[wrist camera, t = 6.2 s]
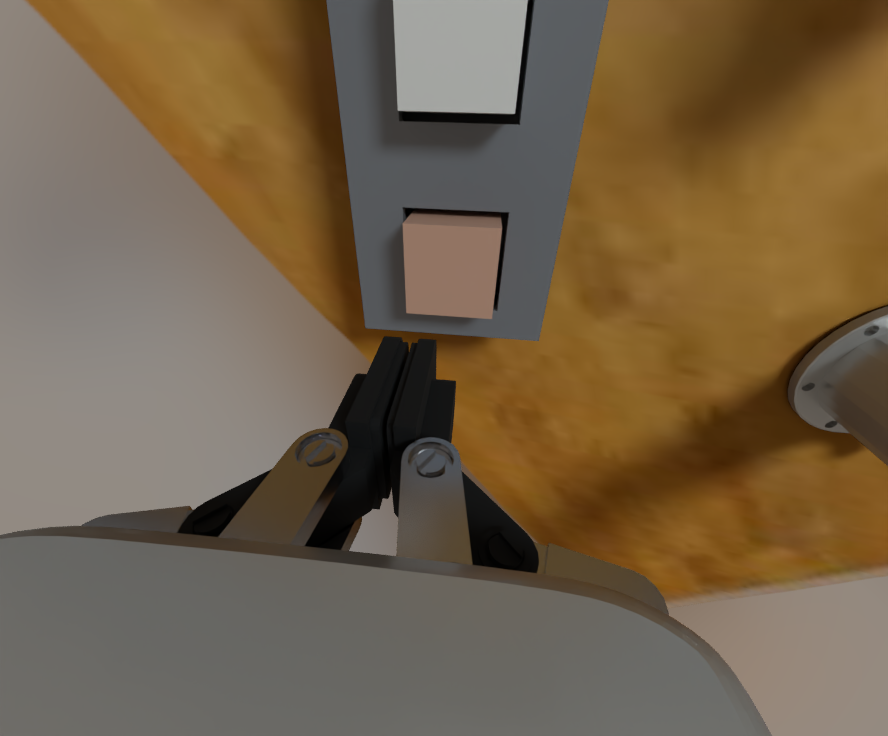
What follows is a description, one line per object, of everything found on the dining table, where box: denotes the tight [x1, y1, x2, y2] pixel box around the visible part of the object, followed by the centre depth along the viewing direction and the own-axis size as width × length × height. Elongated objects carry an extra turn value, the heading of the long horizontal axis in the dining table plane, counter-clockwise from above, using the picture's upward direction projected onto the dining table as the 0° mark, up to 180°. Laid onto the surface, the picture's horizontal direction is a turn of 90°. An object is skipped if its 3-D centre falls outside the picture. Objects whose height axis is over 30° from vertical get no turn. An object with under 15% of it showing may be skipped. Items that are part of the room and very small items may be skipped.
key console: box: [326, 0, 609, 341], centre depth 18 cm, size 12×30×6 cm, turn 179°
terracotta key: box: [403, 208, 502, 319], centre depth 22 cm, size 5×5×5 cm
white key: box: [393, 0, 528, 115], centre depth 16 cm, size 5×5×5 cm
